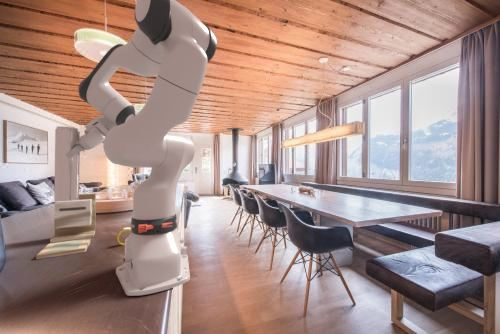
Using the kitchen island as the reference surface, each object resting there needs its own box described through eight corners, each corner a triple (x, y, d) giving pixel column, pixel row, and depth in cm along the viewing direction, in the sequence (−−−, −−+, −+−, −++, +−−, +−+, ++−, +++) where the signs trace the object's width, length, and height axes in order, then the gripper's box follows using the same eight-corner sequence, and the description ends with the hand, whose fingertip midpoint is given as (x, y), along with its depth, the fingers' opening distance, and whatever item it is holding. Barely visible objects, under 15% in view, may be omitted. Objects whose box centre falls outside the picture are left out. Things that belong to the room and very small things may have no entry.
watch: (134, 242, 81) (136, 226, 82) (136, 244, 79) (137, 228, 80) (116, 244, 78) (117, 228, 78) (117, 246, 76) (119, 229, 76)
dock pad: (85, 251, 71) (85, 248, 71) (36, 259, 65) (36, 255, 65) (90, 241, 81) (90, 237, 81) (48, 246, 75) (49, 243, 75)
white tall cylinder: (64, 201, 70) (65, 125, 70) (49, 200, 71) (50, 126, 71) (83, 198, 76) (84, 129, 76) (69, 198, 77) (70, 129, 77)
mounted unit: (93, 237, 86) (93, 195, 86) (50, 242, 80) (50, 197, 80) (95, 232, 93) (95, 193, 93) (56, 237, 86) (56, 195, 86)
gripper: (84, 128, 86) (51, 151, 78) (100, 121, 72) (62, 147, 65) (98, 140, 89) (67, 163, 81) (115, 136, 76) (80, 162, 68)
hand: (65, 156), depth 73 cm, fingers closed on white tall cylinder, 6 cm apart
